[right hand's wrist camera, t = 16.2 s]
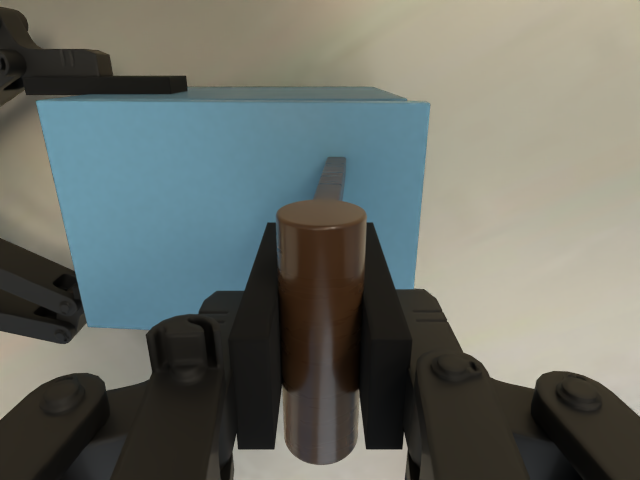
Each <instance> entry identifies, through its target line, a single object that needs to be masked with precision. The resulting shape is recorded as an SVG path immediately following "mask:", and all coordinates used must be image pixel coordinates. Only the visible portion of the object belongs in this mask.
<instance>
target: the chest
mask: <svg viewBox="0 0 640 480" xmlns="http://www.w3.org/2000/svg"><path fill="white" fill-rule="evenodd" d="M187 90H188V91H186V92H180V93H175V94H86V95H78V96H69V97H61V98H53V99H144V100H305V101H407V99H406V98H403V97H400V96H398V95H395V94H392V93H389V92H386V91H383V90H380V89H377V88H375V87H187Z"/></svg>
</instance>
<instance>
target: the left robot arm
mask: <svg viewBox="0 0 640 480" xmlns="http://www.w3.org/2000/svg"><path fill="white" fill-rule="evenodd" d="M27 31H28V23H27V19H26V18H25V17H24V15H23V14H22V13H20V12H19V11H17V10H14V9H9V8H3V7H0V107H1V106H2V105H4V104H5V103H7V102H8V101H9V100H11V99H12V98H14V97H15V96H17V95H18V94H20V93H21V92H23V91H24V90H25V92H26V95H86V94H175V93H180V92H186V91H188V90H187V81H186V76H113V73H112V67H111V61H110V55H109V54H106V53H104V52H101V51H99V50H88V49H42V48H40V47H39V46H37V45H36V44H35V43H34V42H33V40H32V39H31V37H30V36H29V34H28V32H27ZM86 323H87V321H86V317H85V313H84V308H83V304H82V300H81V295H80V291H79V287H78V282H77V278H76V274H75V271H73V270H71V269H68V268H66V267H64V266H62V265H59V264H57V263H55V262H53V261H51V260H48V259H46V258H44V257H42V256H39V255H37V254H35V253H33V252H30V251H28V250H26V249H24V248H21V247H19V246H17V245H15V244H12V243H10V242H8V241H6V240H3V239H1V238H0V331H3V332H8V333H13V334H17V335H22V336H27V337H31V338H36V339H41V340H45V341H50V342H55V343H59V344H66V343H69V342H70V341H71V340H72V339H73V337H74V336H75V335H76V334H77V333H78V332H79V331H80V330H81V329H82V327H83V326H84V325H85V324H86Z"/></svg>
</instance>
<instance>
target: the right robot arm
mask: <svg viewBox="0 0 640 480" xmlns="http://www.w3.org/2000/svg"><path fill="white" fill-rule="evenodd" d="M146 339H147V345H148V350H149V356H150V362H151V367H152V374H151V377H150V380H147V381H145V382H142V383H139V384H135V385H131V386H127V387H122V388H118V389H113V390H108V391H106V388H105V383H104V381H103V380H102V379H101V378H100V377H99V376H96V375H93V374H89V373H73V374H69V375H65V376H61V377H57V378H55V379H53V380H51V381H49V382H46V383H44V384H42V385H41V386H39V387H38V388H36V389H35V390H34V391H32V392H31V393H29V394H28V395H27V396H26V397H25V398H24V399H23V400H22V401H21V402H20V403H18V404H17V405H16V406H15V407H14V408H13V409H12V410H11V411H10V412H9V413H7V414H6V415H5V416H4V417H3V418H2V419H1V420H0V480H233V477H234V463H233V453H232V451H233V446H234V442H235V437H236V433H237V442H238V449H274V448H275V439H276V431H277V423H278V414H279V406H280V397H281V389H282V366H281V341H280V316H279V291H278V266H277V241H276V222H267V225H266V228H265V231H264V234H263V237H262V240H261V243H260V246H259V249H258V252H257V255H256V258H255V261H254V264H253V267H252V270H251V273H250V276H249V279H248V281H247V284H246V287H245V290H244V291H216V292H214V293H213V294H212V295H210V296H209V297H208V298H206V299H205V300H204V301H203V303H202V305H201V307H200V309H199V312H198V314H185V315H178V316H174V317H171V318H168V319H165V320H163V321H161V322H160V323H158V324H156V325H155V326H153V327H152V328H151V329H150V330H149V332H148V333H147V334H146ZM359 394H360V402H361V411H362V419H363V427H364V436H365V444H366V449H402V447H403V436H404V433H405V438H406V442H407V446H408V453H407V463H406V473H405V480H640V417H639V416H638V415H637V414H636V413H635V412H634V411H633V410H632V409H631V408H629V407H628V406H627V405H626V404H625V403H624V402H623V401H622V400H621V399H619V398H618V397H617V396H616V395H615V394H614V393H613V392H612V391H610V390H609V389H607V388H606V387H605V386H603V385H602V384H600V383H599V382H597V381H595V380H592V379H590V378H588V377H586V376H583V375H580V374H575V373H571V372H565V371H552V372H549V373H545V374H542V375H541V376H540V377H539V378H538V379H537V381H536V386H535V389H532V388H527V387H522V386H518V385H513V384H508V383H505V382H501V381H498V380H495V379H493V378H491V377H490V376H489V374H488V372H487V370H486V369H485V367H484V366H483V364H482V363H481V362H479V361H478V360H477V359H475V358H474V357H472V356H471V355H468V354H466V353H463V351H462V349H461V347H460V345H459V343H458V341H457V339H456V337H455V335H454V333H453V331H452V329H451V327H450V325H449V323H448V322H447V319H446V317H445V315H444V313H443V312H442V309H441V307H440V305H439V303H438V301H437V299H436V298H435V297H433V296H432V295H431V294H429V293H428V292H427V291H426V290H424V289H395V286H394V283H393V280H392V277H391V274H390V271H389V268H388V265H387V262H386V259H385V256H384V254H383V251H382V248H381V245H380V242H379V239H378V236H377V233H376V230H375V227H374V224H373V222H367V227H366V251H365V275H364V290H363V302H362V326H361V350H360V374H359Z"/></svg>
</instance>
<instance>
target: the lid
mask: <svg viewBox="0 0 640 480" xmlns="http://www.w3.org/2000/svg"><path fill="white" fill-rule="evenodd" d="M36 105H37V109H38V113H39V118H40V122H41V126H42V131H43V135H44V139H45V144H46V148H47V152H48V157H49V161H50V165H51V170H52V174H53V178H54V183H55V187H56V191H57V196H58V200H59V204H60V209H61V213H62V217H63V222H64V226H65V230H66V235H67V239H68V243H69V248H70V252H71V256H72V261H73V265H74V269H75V274H76V278H77V282H78V287H79V291H80V295H81V300H82V304H83V308H84V313H85V317H86V321H87V326H88V327H99V328H119V329H140V330H150V329H151V328H152V327H153V326H155V325H156V324H158V323H160V322H161V321H163V320H165V319H168V318H171V317H174V316H178V315H185V314H198V312H199V309H200V307H201V305H202V303H203V301H204V300H205V299H206V298H208V297H209V296H210V295H212V294H213V293H214V292H216V291H244V290H245V287H246V284H247V281H248V279H249V276H250V273H251V270H252V267H253V264H254V261H255V258H256V255H257V252H258V249H259V246H260V243H261V240H262V237H263V234H264V231H265V228H266V225H267V222H276V241H277V266H278V291H279V316H280V341H281V366H282V392H283V417H284V439H285V443H286V445H287V447H288V449H289V450H290V451H291V453H292V454H293V455H294V456H295V457H297V458H298V459H300V460H302V461H304V462H307V463H310V464H315V465H327V464H332V463H335V462H338V461H340V460H342V459H344V458H345V457H346V456H348V455H349V454H350V453H351V451H352V450H353V448H354V447H355V445H356V442H357V438H358V417H359V374H360V350H361V326H362V302H363V290H364V275H365V251H366V227H367V222H373V224H374V227H375V230H376V233H377V236H378V239H379V242H380V245H381V248H382V251H383V254H384V256H385V259H386V262H387V265H388V268H389V271H390V274H391V277H392V280H393V283H394V286H395V289H414V280H415V269H416V258H417V247H418V236H419V224H420V213H421V202H422V191H423V180H424V169H425V158H426V147H427V136H428V125H429V113H430V103H428V102H426V101H305V100H144V99H45V100H37V101H36Z"/></svg>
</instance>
